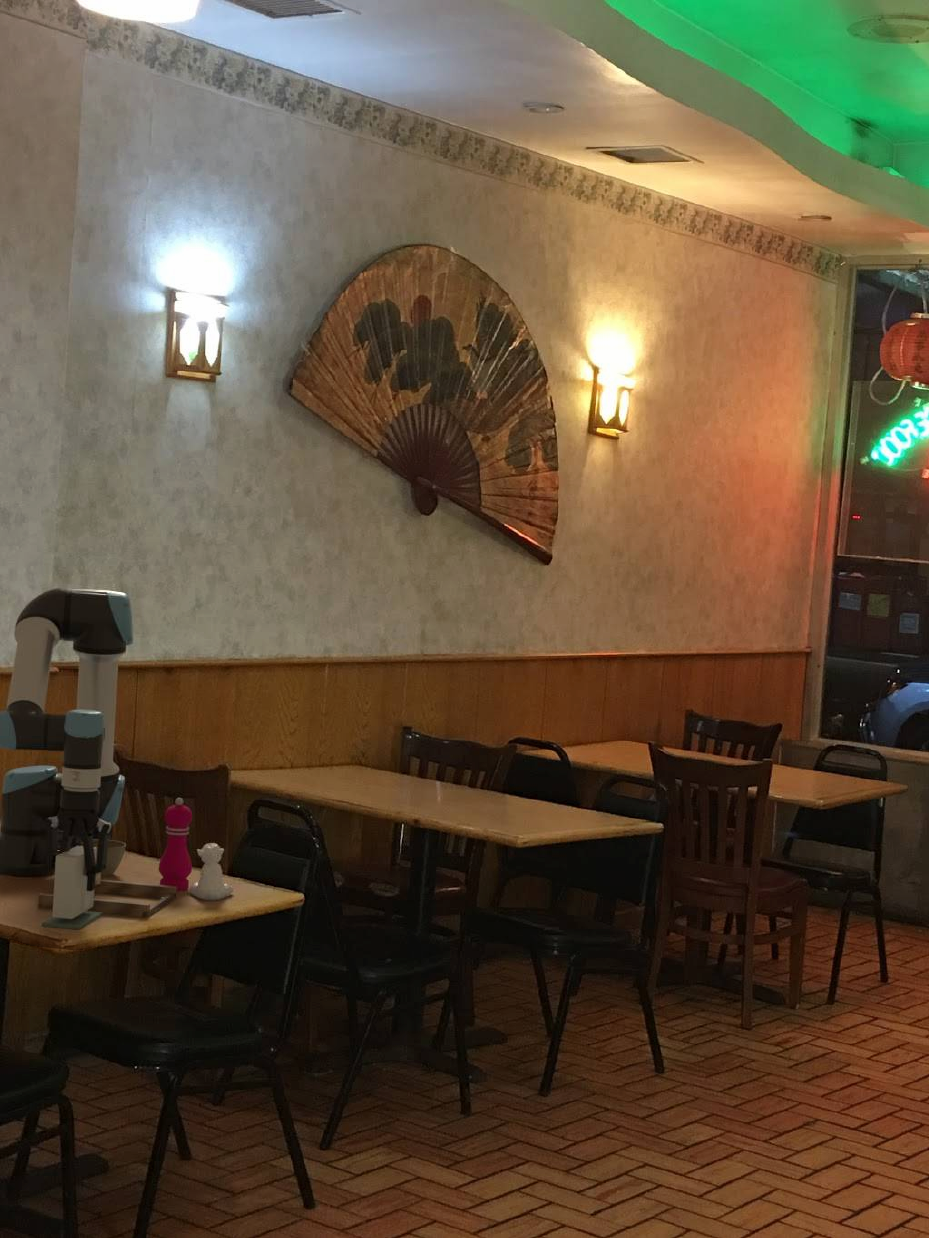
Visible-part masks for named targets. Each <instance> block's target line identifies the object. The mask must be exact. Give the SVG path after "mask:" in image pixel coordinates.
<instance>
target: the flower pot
mask: <svg viewBox="0 0 929 1238" xmlns="http://www.w3.org/2000/svg"><path fill="white" fill-rule="evenodd" d="M98 841H99V839H93V847H96V848H97V851H98ZM81 846H83V842H81ZM126 847H127V844H126V843H125V842H123V841H121V840H114V839H112V840H108V849H107V860H106V869H105V870H104V871H102V872H101V878H102V876H103V877H104V876H106V877H111V875H112V876H113V875H114V874H115V873H116V870H118V868H119V866H120V864H121V862H122V861H123V858H124V854H125V852H126ZM96 862H97V853H96ZM104 878H105V877H104Z"/></svg>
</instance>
